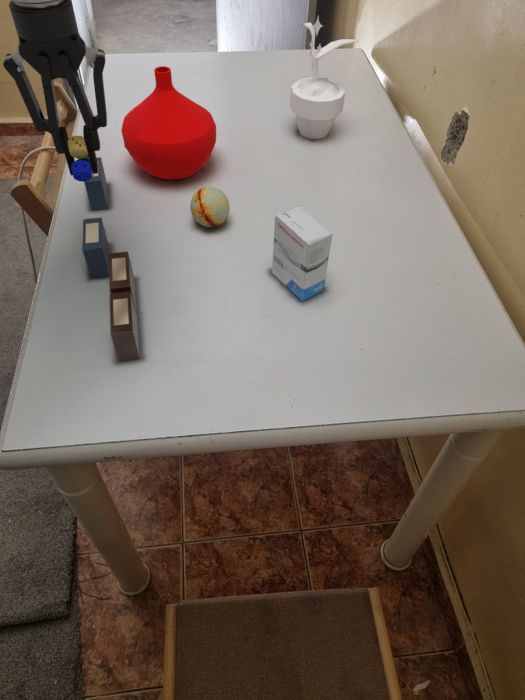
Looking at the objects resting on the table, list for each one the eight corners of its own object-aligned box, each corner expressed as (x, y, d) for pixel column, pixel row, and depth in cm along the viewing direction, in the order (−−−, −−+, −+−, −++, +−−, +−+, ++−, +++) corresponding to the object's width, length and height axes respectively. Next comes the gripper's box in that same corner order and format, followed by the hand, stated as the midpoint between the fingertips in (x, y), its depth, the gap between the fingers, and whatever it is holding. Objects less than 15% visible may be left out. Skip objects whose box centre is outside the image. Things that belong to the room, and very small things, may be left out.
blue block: (91, 278, 85) (82, 249, 80) (91, 186, 102) (84, 157, 97) (109, 276, 86) (101, 247, 81) (107, 184, 102) (100, 156, 98)
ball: (235, 216, 97) (234, 183, 92) (222, 238, 93) (220, 205, 87) (200, 208, 98) (197, 175, 93) (185, 230, 94) (182, 196, 89)
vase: (201, 137, 115) (194, 43, 100) (230, 181, 104) (228, 83, 90) (119, 153, 110) (100, 56, 95) (141, 200, 99) (124, 100, 85)
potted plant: (284, 143, 114) (293, 15, 95) (291, 118, 122) (300, -6, 102) (341, 149, 113) (362, 21, 94) (344, 124, 121) (364, 0, 101)
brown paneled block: (118, 361, 74) (110, 333, 70) (116, 281, 85) (108, 252, 80) (139, 359, 75) (132, 331, 70) (134, 279, 85) (128, 250, 81)
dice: (94, 188, 80) (84, 150, 75) (76, 190, 80) (65, 151, 75) (94, 161, 85) (85, 123, 80) (78, 162, 85) (67, 124, 80)
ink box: (324, 290, 85) (334, 233, 76) (300, 302, 83) (308, 244, 74) (293, 261, 89) (299, 203, 80) (270, 272, 87) (273, 213, 78)
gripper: (104, -15, 67) (134, 153, 85) (-24, -11, 65) (34, 161, 83) (104, 6, 63) (136, 178, 81) (-34, 11, 60) (30, 187, 78)
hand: (84, 169), depth 82 cm, fingers closed on dice, 3 cm apart
